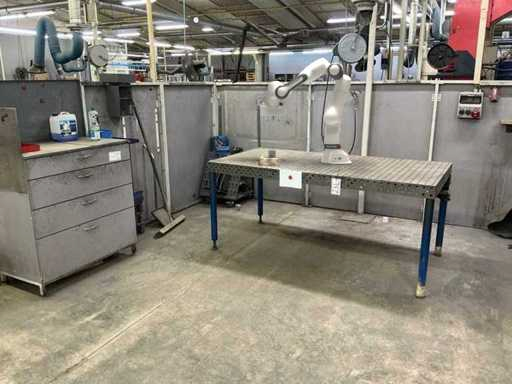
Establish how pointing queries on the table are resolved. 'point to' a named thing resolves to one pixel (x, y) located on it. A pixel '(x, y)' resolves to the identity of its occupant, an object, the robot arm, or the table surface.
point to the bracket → (271, 154)
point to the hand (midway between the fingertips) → (273, 121)
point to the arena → (269, 161)
